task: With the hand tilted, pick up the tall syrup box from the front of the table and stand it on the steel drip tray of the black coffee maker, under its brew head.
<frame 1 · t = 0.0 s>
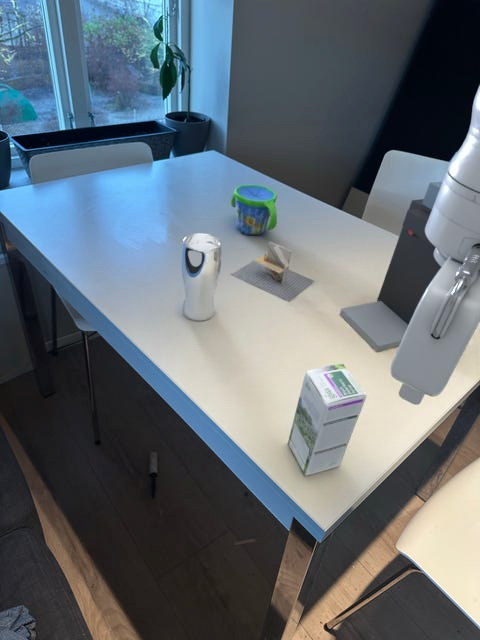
hand: (426, 366, 40), 26 cm above the table, tool pointing down, fingers open, 8 cm apart
snack cup: (250, 230, 117), on the table
beer glass: (198, 312, 86), on the table
architectural model: (273, 278, 99), on the table
coffee maker: (389, 324, 89), on the table
syrup box: (312, 456, 62), on the table
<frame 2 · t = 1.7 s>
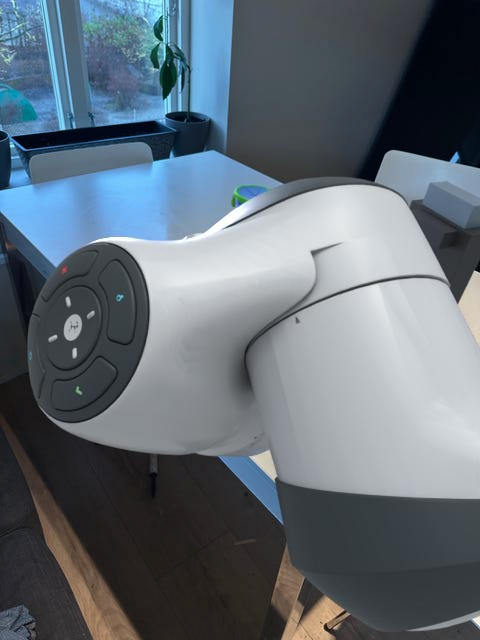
hand: (288, 410, 43), 19 cm above the table, tool tilted 45°, fingers open, 8 cm apart
nothing on the table moved.
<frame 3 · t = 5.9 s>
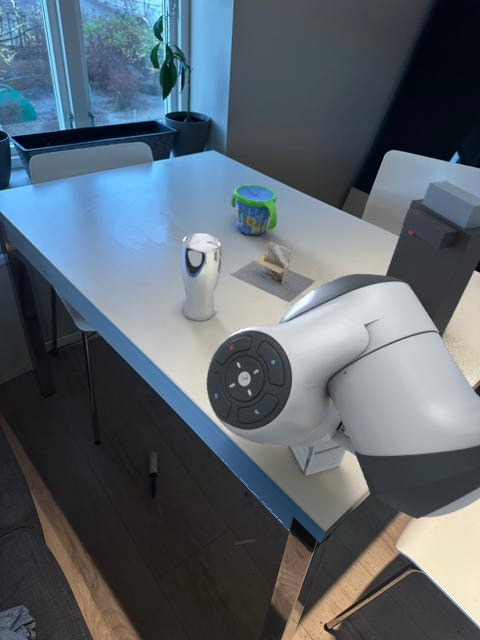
hand: (327, 412, 58), 8 cm above the table, tool tilted 45°, fingers closed on syrup box, 7 cm apart
syrup box: (312, 456, 62), on the table, touching gripper
everything else where it was.
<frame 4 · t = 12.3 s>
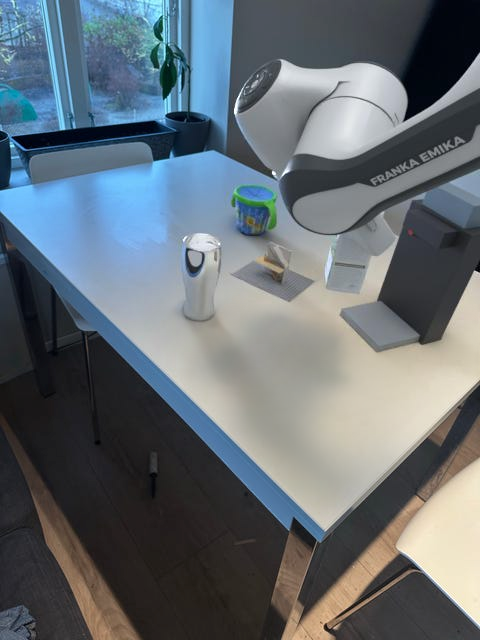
hand: (356, 237, 70), 21 cm above the table, tool tilted 45°, fingers closed on syrup box, 7 cm apart
syrup box: (340, 284, 74), point 13 cm above the table, touching gripper
everything else where it was.
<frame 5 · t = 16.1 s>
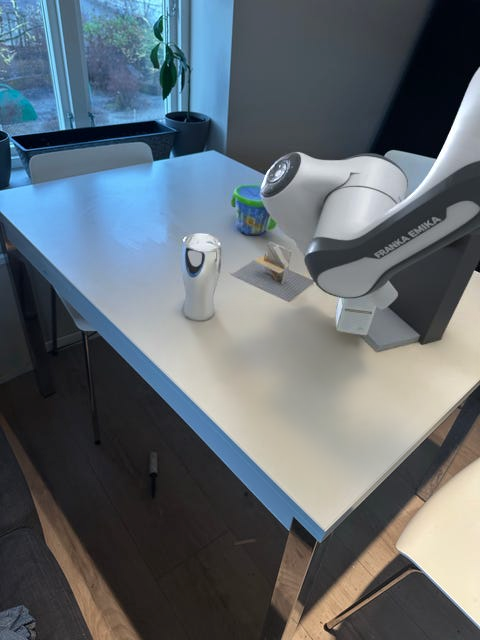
hand: (364, 285, 78), 11 cm above the table, tool tilted 45°, fingers closed on syrup box, 7 cm apart
syrup box: (349, 325, 83), point 3 cm above the table, touching gripper
everything else where it was.
when the fingers open (10 cm above the table, at t = 19.2 s): syrup box stays where it is, resting on coffee maker.
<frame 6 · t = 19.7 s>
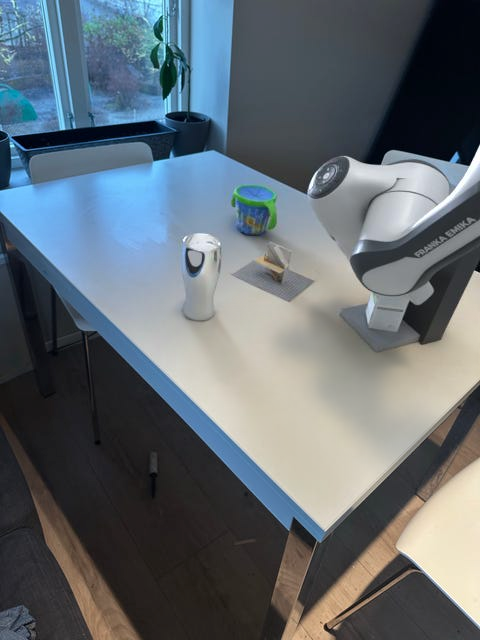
hand: (396, 282, 82), 10 cm above the table, tool tilted 45°, fingers open, 8 cm apart
syrup box: (379, 322, 87), point 1 cm above the table, touching coffee maker
everything else where it was.
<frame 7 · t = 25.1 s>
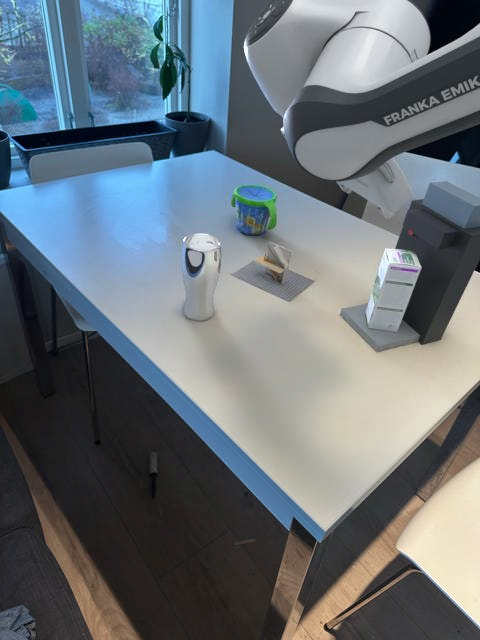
hand: (368, 201, 66), 27 cm above the table, tool tilted 45°, fingers open, 8 cm apart
nothing on the table moved.
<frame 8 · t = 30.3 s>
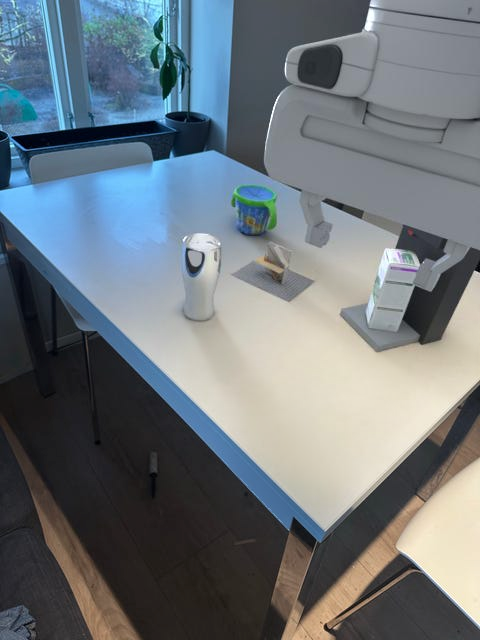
hand: (367, 263, 36), 34 cm above the table, tool pointing down, fingers open, 8 cm apart
nothing on the table moved.
at the end: syrup box 0.1 cm from the target spot on the coffee maker, point 1.3 cm above the coffee maker's base; syrup box tilted 0°; the gripper is holding nothing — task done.
